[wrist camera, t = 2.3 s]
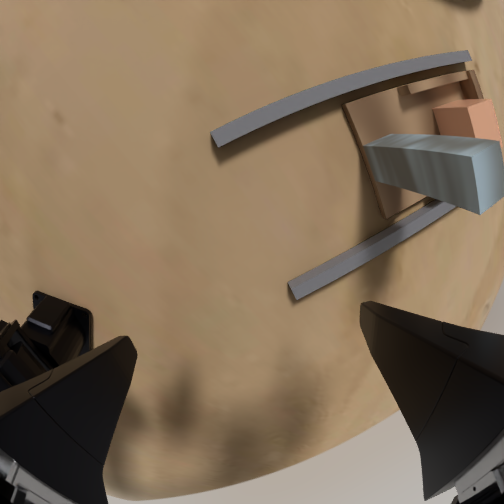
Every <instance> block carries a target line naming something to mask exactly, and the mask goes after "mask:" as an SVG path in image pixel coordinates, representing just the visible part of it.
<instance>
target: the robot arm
mask: <svg viewBox="0 0 504 504" xmlns="http://www.w3.org/2000/svg"><path fill="white" fill-rule="evenodd" d="M37 296H38V297H37ZM33 307H34V310H33V311H32V312H31V313H30V315H29V316H28V317H27V320H26V322H25V323H24V324H23V325H22V326H21V327H20V326H19V325H20V324H19V323H18V322H17V320H14V321H13V322H12V323H11V324H10V323H7V322H5V321H3V320H1V321H0V504H108V501H107V496H106V492H105V487H104V482H103V475H102V474H103V467H104V466H103V465H104V463H105V460H106V457H107V453H108V450H109V447H110V444H111V440H112V437H113V434H114V431H115V428H116V425H117V422H118V419H119V416H120V413H121V410H122V407H123V404H124V401H125V398H126V396H127V393H128V390H129V387H130V384H131V380H132V376H133V372H134V368H135V364H136V360H137V351H136V349H135V347H134V345H133V343H132V341H131V339H130V338H129V337H128V336H118V337H116V338H114V339H113V340H111V341H109V342H107V343H105V344H103V345H101V346H99V347H97V348H95V349H93V350H91V313H90V311H89V310H88V309H86V308H83V307H80V306H77V305H74V304H71V303H69V302H66V301H63V300H61V299H58V298H55V297H53V296H50V295H47V294H45V293H42V292H39V291H35V292H34V293H33ZM84 313H85V314H86V315H85V314H84ZM360 327H361V329H362V332H363V335H364V337H365V340H366V342H367V345H368V348H369V350H370V353H371V355H372V357H373V359H374V361H375V363H376V364H377V366H378V368H379V370H380V372H381V374H382V376H383V377H384V379H385V381H386V383H387V385H388V387H389V389H390V391H391V393H392V395H393V397H394V398H395V400H396V402H397V404H398V406H399V408H400V410H401V412H402V414H403V416H404V418H405V420H406V422H407V424H408V426H409V428H410V430H411V432H412V434H413V437H414V439H415V441H416V443H417V445H418V448H419V451H420V456H421V466H422V476H423V492H424V500H425V501H426V500H428V499H430V498H432V497H435V496H437V495H439V494H440V493H443V492H445V491H447V490H449V489H451V488H452V487H454V486H455V487H456V490H457V492H458V495H457V496H455V497H454V499H453V501H452V503H451V504H504V335H500V334H495V333H490V332H485V331H480V330H475V329H470V328H466V327H461V326H457V325H454V324H450V323H446V322H441V321H438V320H435V319H431V318H428V317H424V316H421V315H417V314H414V313H411V312H407V311H404V310H400V309H397V308H393V307H390V306H387V305H383V304H380V303H377V302H373V301H367V302H363V303H361V305H360Z"/></svg>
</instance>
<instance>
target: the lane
mask: <svg viewBox="0 0 504 504" xmlns="http://www.w3.org/2000/svg"><path fill="white" fill-rule="evenodd" d="M466 61H472V59H471V57H470V54H469V52H468V50H466V51H457V52H450V53H443V54H436V55H430V56H425V57H420V58H415V59H410V60H405V61H400V62H396V63H392V64H388V65H384V66H380V67H376V68H372V69H369V70H365V71H361V72H358V73H355V74H351V75H348V76H345V77H342V78H338V79H335V80H332V81H329V82H326V83H323V84H321V85H318V86H315V87H312V88H309V89H307V90H304V91H301V92H299V93H296V94H293V95H291V96H288V97H286V98H283V99H281V100H278V101H276V102H274V103H271V104H269V105H267V106H264V107H262V108H260V109H257V110H255V111H253V112H251V113H249V114H246V115H244V116H242V117H240V118H238V119H236V120H234V121H232V122H229V123H227V124H225V125H223V126H221V127H219V128H217V129H215V130H213V131H211V132H210V133H211V135H212V137H213V139H214V141H215V143H216V145H217V146H218V148H219V147H221V146H222V145H224V144H226V143H228V142H230V141H232V140H234V139H236V138H239V137H241V136H243V135H245V134H247V133H249V132H251V131H253V130H255V129H257V128H260V127H262V126H264V125H266V124H268V123H271V122H273V121H275V120H277V119H280V118H282V117H284V116H287V115H289V114H291V113H294V112H296V111H299V110H301V109H304V108H306V107H309V106H311V105H314V104H316V103H319V102H322V101H324V100H327V99H330V98H332V97H335V96H338V95H341V94H344V93H346V92H349V91H352V90H355V89H358V88H361V87H365V86H368V85H371V84H374V83H377V82H381V81H384V80H388V79H391V78H395V77H398V76H402V75H406V74H410V73H414V72H418V71H422V70H426V69H430V68H435V67H440V66H445V65H450V64H455V63H461V62H466ZM455 207H456V206H455V205H452V204H449V203H446V202H443V201H440V200H437V199H436V200H434V201H432V202H431V203H429V204H427V205H426V206H424V207H422V208H421V209H419V210H417V211H416V212H414V213H412V214H411V215H409V216H407V217H406V218H404V219H402V220H400V221H399V222H397V223H395V224H394V225H392V226H390V227H388V228H387V229H385V230H383V231H381V232H380V233H378V234H376V235H374V236H373V237H371V238H369V239H367V240H365V241H364V242H362V243H360V244H358V245H356V246H355V247H353V248H351V249H349V250H347V251H346V252H344V253H342V254H340V255H338V256H336V257H335V258H333V259H331V260H329V261H327V262H325V263H323V264H322V265H320V266H318V267H316V268H314V269H312V270H310V271H308V272H306V273H304V274H303V275H301V276H299V277H297V278H295V279H293V280H291V281H289V282H288V284H289V286H290V288H291V290H292V292H293V294H294V296H295V298H296V300H298V299H300V298H302V297H304V296H306V295H308V294H310V293H311V292H313V291H315V290H317V289H319V288H321V287H323V286H325V285H326V284H328V283H330V282H332V281H334V280H336V279H338V278H339V277H341V276H343V275H345V274H347V273H348V272H350V271H352V270H354V269H356V268H357V267H359V266H361V265H363V264H364V263H366V262H368V261H370V260H371V259H373V258H375V257H376V256H378V255H380V254H382V253H383V252H385V251H387V250H388V249H390V248H392V247H393V246H395V245H397V244H398V243H400V242H402V241H403V240H405V239H406V238H408V237H410V236H411V235H413V234H415V233H416V232H418V231H419V230H421V229H423V228H424V227H426V226H427V225H429V224H430V223H432V222H433V221H435V220H437V219H438V218H440V217H441V216H443V215H444V214H446V213H447V212H449V211H450V210H452V209H453V208H455Z"/></svg>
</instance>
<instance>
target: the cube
mask: <svg viewBox="0 0 504 504" xmlns="http://www.w3.org/2000/svg"><path fill="white" fill-rule="evenodd" d="M433 112H434V115H435V118H436V122H437V125H438V128H439V131H440V135H445V136H459V137H470V138H480V139H489V140H496V141H500V146H501V148H502V147H503V145H502V140H501V135H500V130H499V126H498V121H497V117H496V113H495V110H494V106H493V102H492V99H466V100H457V101H454V102H450V103H447V104H444V105H441V106H439V107H436V108H433Z"/></svg>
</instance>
